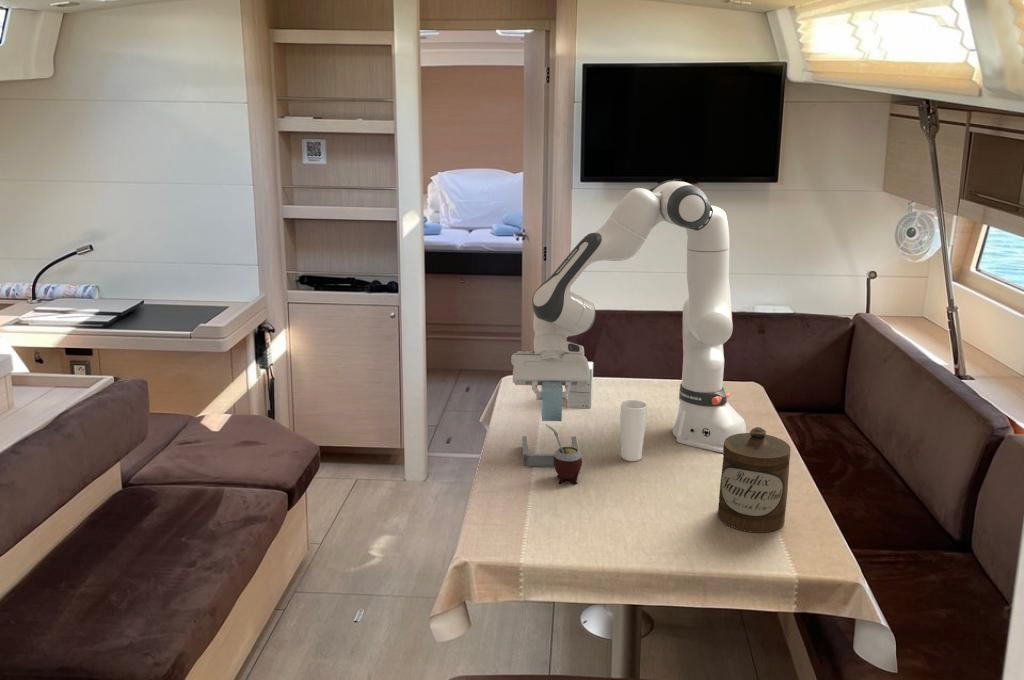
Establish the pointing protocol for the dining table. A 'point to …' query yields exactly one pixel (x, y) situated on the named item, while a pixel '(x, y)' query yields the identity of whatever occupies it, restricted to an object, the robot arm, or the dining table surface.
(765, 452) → the wooden container
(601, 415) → the dining table surface
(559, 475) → the mate gourd
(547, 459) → the coupler bay
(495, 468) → the dining table surface
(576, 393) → the supplement box
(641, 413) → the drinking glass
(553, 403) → the block
